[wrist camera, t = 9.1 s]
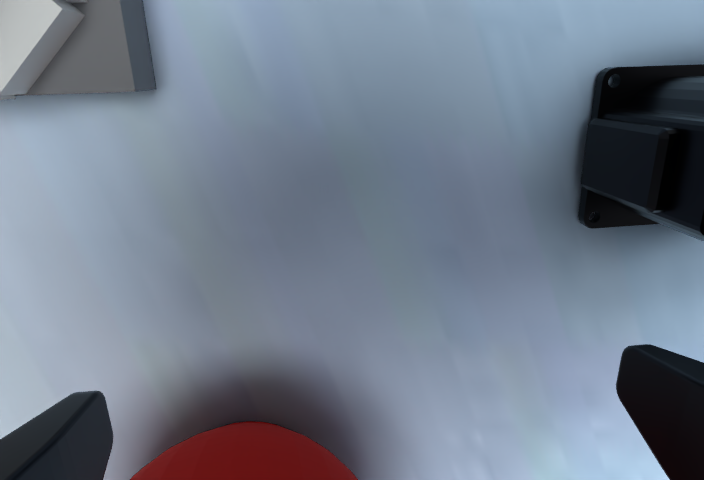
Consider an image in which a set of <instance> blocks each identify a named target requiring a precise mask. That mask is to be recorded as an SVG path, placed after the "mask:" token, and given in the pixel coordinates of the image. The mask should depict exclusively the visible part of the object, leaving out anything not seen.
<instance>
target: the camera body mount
mask: <svg viewBox="0 0 704 480" xmlns="http://www.w3.org/2000/svg"><path fill="white" fill-rule="evenodd" d="M153 89H156V85H155V79H154V72H153V66H152V60H151V53H150V47H149V40H148V34H147V28H146V21H145V15H144V9H143V2H142V0H0V100H11V99H15V96H18V95H48V94H78V93H108V92H136V91H144V90H153Z"/></svg>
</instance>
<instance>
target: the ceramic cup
mask: <svg viewBox="0 0 704 480" xmlns="http://www.w3.org/2000/svg"><path fill="white" fill-rule="evenodd" d="M130 480H358V479H357V478H356V476H355V475H354V474H353V473H352V472H351V471H350V470H349V469H348V468H347V467H346V466H345V465H344V464H343V463H342V462H341V461H340V460H339V459H338V458H337V457H335V456H334V455H333V454H332V453H331V452H330V451H329V450H327V449H326V448H324V447H323V446H321V445H319V444H318V443H316V442H314V441H313V440H311V439H309V438H308V437H306V436H304V435H302V434H299V433H297V432H294V431H291V430H289V429H286V428H284V427H281V426H278V425H276V424H271V423H266V422H255V421H246V422H239V423H232V424H229V425H225V426H222V427H219V428H215V429H212V430H209V431H205V432H202V433H199V434H197V435H195V436H193V437H191V438H189V439H187V440H185V441H183V442H181V443H179V444H177V445H175V446H173V447H171V448H169V449H168V450H166V451H165V452H163V453H162V454H161V455H159V456H158V457H157V458H155V459H154V460H153V461H151V462H150V463H149V464H147V465H146V466H145V467H143V468H142V469H141V470H140V471H139V472H137V473H136V474H135V475H134V476H133V477H132V478H131V479H130Z"/></svg>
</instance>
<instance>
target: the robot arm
mask: <svg viewBox="0 0 704 480" xmlns="http://www.w3.org/2000/svg"><path fill="white" fill-rule="evenodd" d="M611 76H613V77H614V82H613V84H612V85H611V86H609V84H608V80H609V78H610V77H611ZM581 184H582V192H581V199H580V207H579V214H578V218H579V221H580V223H581V224H583V225H585V226H587V227H588V228H605V227H619V226H633V225H648V224H662V225H665V226H667V227H670V228H672V229H675V230H677V231H680V232H682V233H685V234H687V235H690V236H692V237H695V238H697V239H700V240H702V241H704V65H672V66H640V67H610V68H606V69H604V70H603V71H601V72H600V74H599V75H598V77H597V80H596V86H595V94H594V101H593V109H592V116H591V122H590V124H589V125H588V132H587V139H586V147H585V155H584V162H583V170H582V177H581ZM592 212H595V215H594V217H593V218H592V219H591V220H589V216H590V214H591V213H592ZM616 390H617V394H618V397H619V399H620V401H621V402H622V404H623V406H624V407H625V409H626V411H627V412H628V414H629V415H630V417H631V419H632V420H633V422H634V424H635V425H636V427H637V428H638V430H639V432H640V433H641V435H642V437H643V438H644V440H645V441H646V443H647V445H648V446H649V448H650V449H651V451H652V453H653V454H654V456H655V458H656V459H657V461H658V462H659V464H660V466H661V467H662V469H663V470H664V472H665V473H666V475H667V476H668V478H669V479H670V480H704V363H703V362H700V361H697V360H694V359H691V358H688V357H685V356H682V355H679V354H676V353H674V352H671V351H668V350H665V349H662V348H659V347H656V346H653V345H648V344H645V345H634V346H628V347H626V348H625V349H624V351H623V353H622V357H621V362H620V367H619V372H618V377H617V382H616ZM112 444H113V431H112V426H111V422H110V417H109V413H108V409H107V404H106V400H105V397H104V395H103V393H101V392H100V391H88V392H76V393H73V394H71V395H69V396H68V397H66V398H65V399H63V400H61V401H60V402H58V403H57V404H55V405H54V406H52V407H50V408H49V409H47V410H46V411H44V412H43V413H41V414H40V415H38V416H36V417H35V418H33V419H32V420H30V421H29V422H27V423H25V424H24V425H22V426H21V427H19V428H18V429H16V430H14V431H13V432H11V433H10V434H8V435H7V436H5V437H3V438H2V439H0V480H103V478H104V474H105V470H106V467H107V463H108V460H109V456H110V453H111V449H112Z"/></svg>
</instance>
